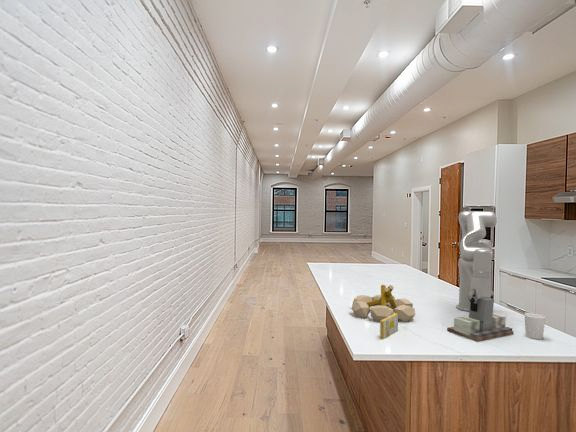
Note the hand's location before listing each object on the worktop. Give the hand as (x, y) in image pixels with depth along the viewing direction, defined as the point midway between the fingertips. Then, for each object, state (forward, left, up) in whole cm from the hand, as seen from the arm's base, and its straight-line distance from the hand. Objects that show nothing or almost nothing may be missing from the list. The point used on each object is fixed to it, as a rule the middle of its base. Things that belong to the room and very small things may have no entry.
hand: (480, 310), depth 172 cm
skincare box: (0, 0, -10) cm, 10 cm away
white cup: (-19, +14, -11) cm, 26 cm away
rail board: (0, 0, -11) cm, 11 cm away
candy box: (+43, -15, -11) cm, 47 cm away
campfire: (+23, -43, -11) cm, 50 cm away
